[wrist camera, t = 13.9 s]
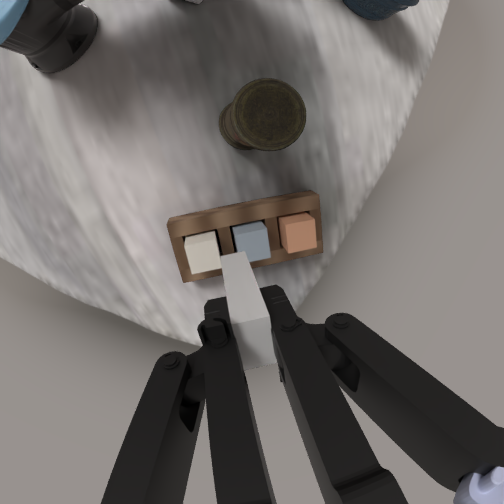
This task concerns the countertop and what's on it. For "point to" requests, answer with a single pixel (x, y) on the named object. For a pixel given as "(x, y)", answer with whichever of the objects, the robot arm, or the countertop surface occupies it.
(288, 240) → the terracotta key
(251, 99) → the container
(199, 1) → the juice carton
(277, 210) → the key panel
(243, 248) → the slate key
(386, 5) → the canister
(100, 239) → the countertop surface
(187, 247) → the ivory key
